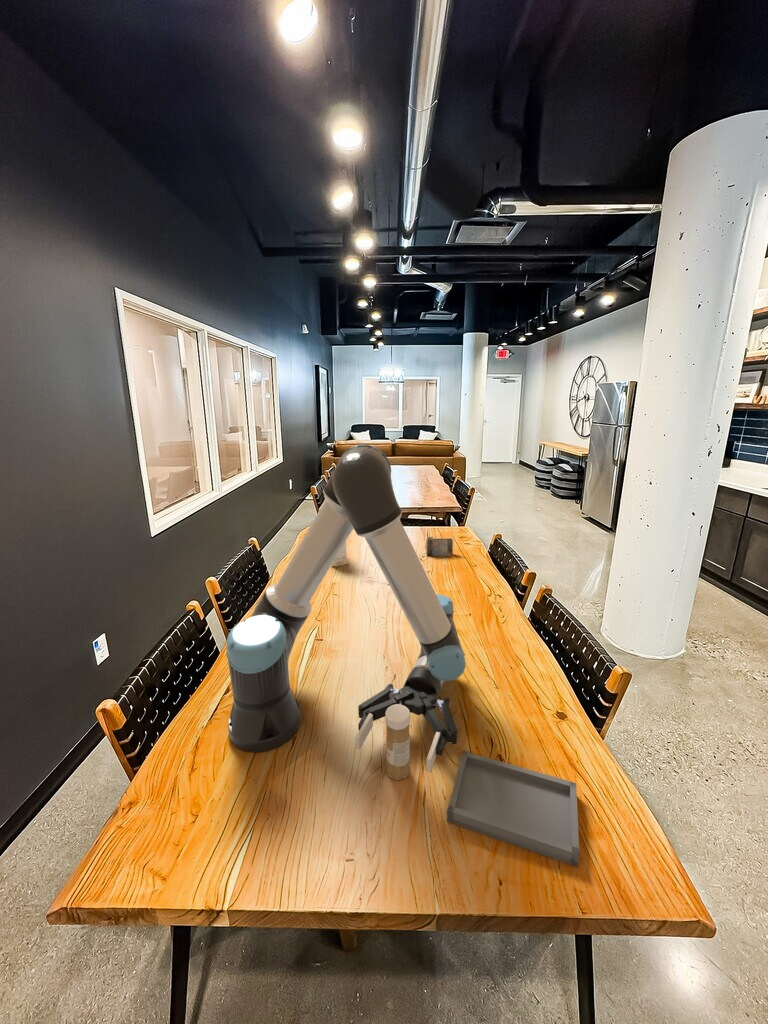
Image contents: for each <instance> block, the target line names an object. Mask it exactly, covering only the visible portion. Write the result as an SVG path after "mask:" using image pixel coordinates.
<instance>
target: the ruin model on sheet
mask: <svg viewBox="0 0 768 1024" xmlns="http://www.w3.org/2000/svg"><path fill="white" fill-rule="evenodd" d="M425 547H426V556H428V555H431V557H453V555H454V539H453V538H452V537H451V538H450V537H449V538H448V537H447V538H443V537H442V538H434V537H433V536H427V538H426V546H425Z"/></svg>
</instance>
